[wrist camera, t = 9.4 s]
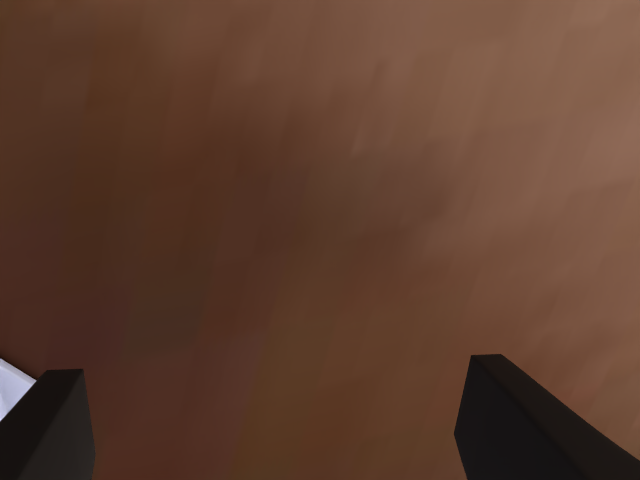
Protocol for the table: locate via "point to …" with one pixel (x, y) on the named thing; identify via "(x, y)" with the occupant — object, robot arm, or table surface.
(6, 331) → the table surface
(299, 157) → the table surface
